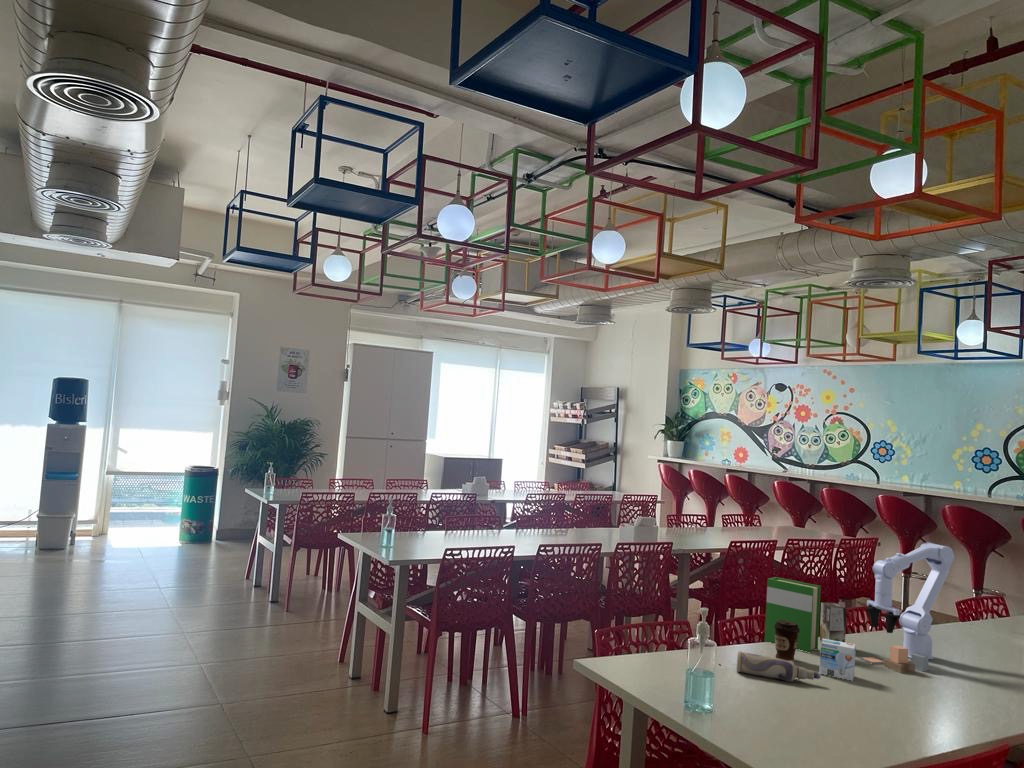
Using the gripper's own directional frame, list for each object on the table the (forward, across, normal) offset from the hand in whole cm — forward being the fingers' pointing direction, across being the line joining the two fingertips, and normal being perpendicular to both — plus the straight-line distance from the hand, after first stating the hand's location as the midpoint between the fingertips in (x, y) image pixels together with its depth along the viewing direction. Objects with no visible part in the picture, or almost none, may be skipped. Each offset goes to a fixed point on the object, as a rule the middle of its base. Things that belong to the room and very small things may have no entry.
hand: (882, 629), depth 273 cm
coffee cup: (+10, +2, -43) cm, 44 cm away
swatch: (+10, +5, -8) cm, 14 cm away
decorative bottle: (+10, +21, -61) cm, 65 cm away
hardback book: (+10, -14, -29) cm, 34 cm away
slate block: (+10, +14, +4) cm, 18 cm away
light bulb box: (+10, +19, -35) cm, 41 cm away
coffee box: (+10, -12, -12) cm, 20 cm away
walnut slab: (+10, +14, -5) cm, 18 cm away
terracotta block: (+7, +14, -5) cm, 16 cm away
